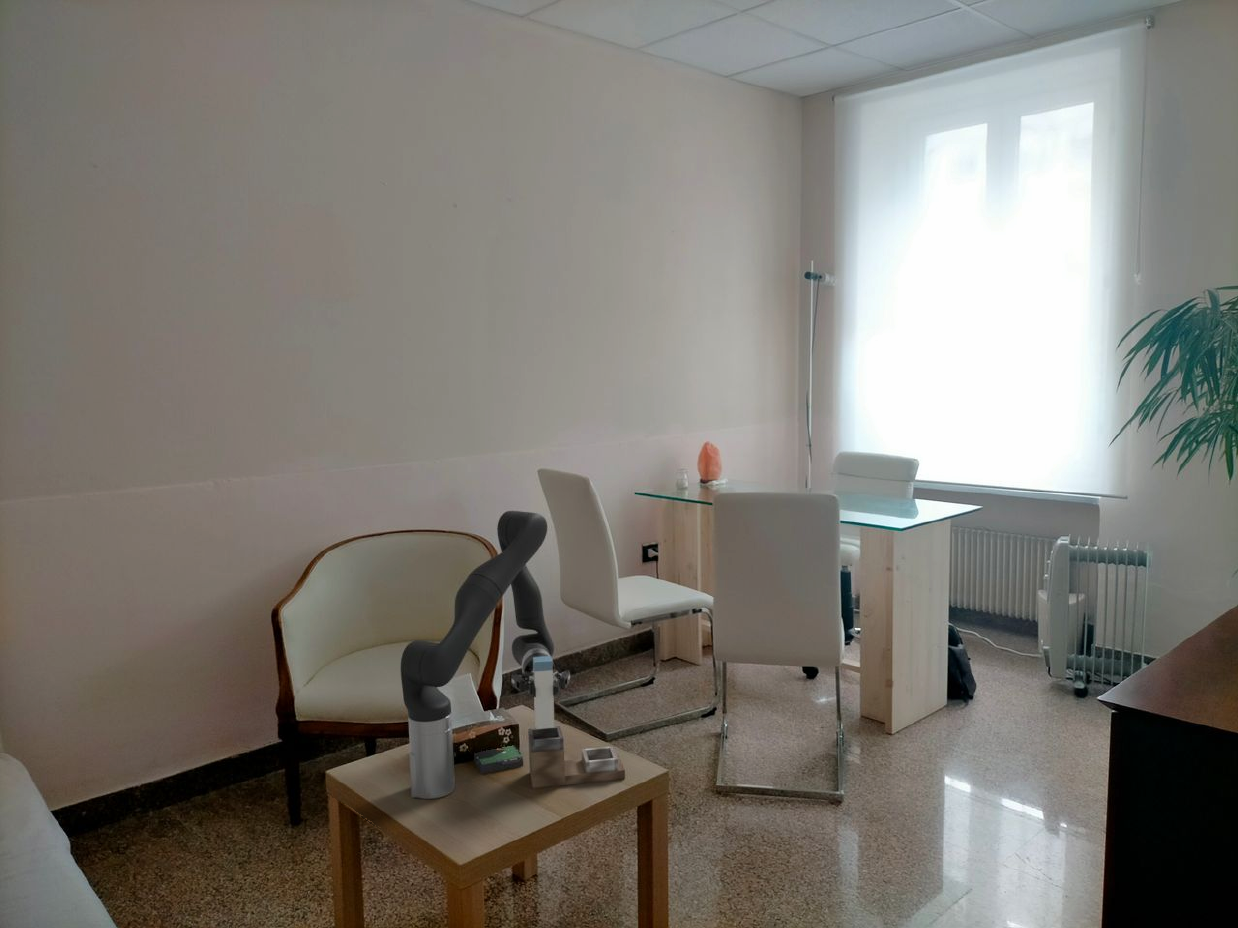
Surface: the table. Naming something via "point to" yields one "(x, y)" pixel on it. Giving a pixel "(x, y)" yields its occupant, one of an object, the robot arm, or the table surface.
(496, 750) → the disk drive
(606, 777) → the square socket stand
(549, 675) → the plug
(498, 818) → the table surface
